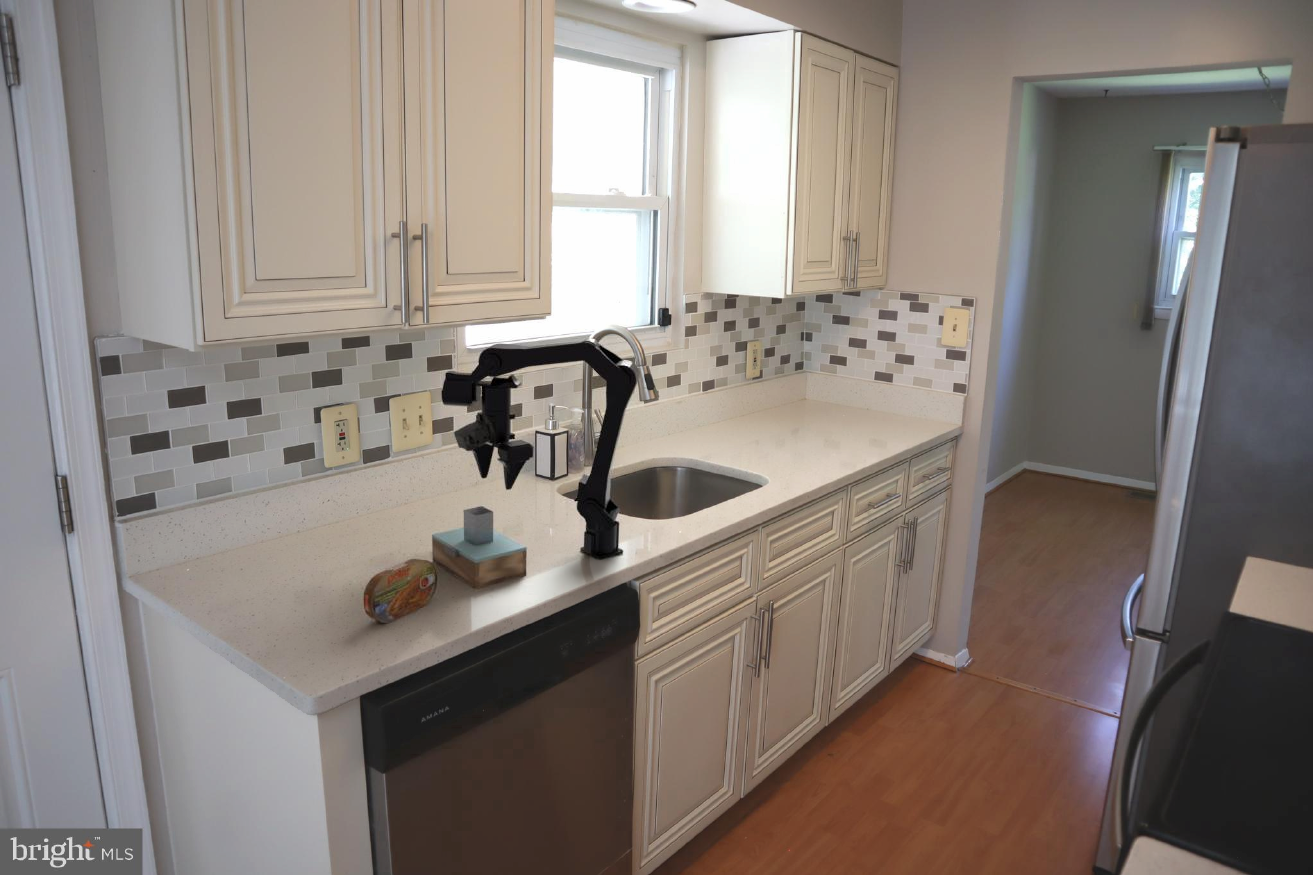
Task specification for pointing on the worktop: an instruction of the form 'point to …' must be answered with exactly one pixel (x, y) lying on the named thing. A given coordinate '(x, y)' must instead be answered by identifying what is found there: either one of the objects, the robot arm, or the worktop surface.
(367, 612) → the tin
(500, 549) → the lid
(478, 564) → the box
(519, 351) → the robot arm
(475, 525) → the block
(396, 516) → the worktop surface
